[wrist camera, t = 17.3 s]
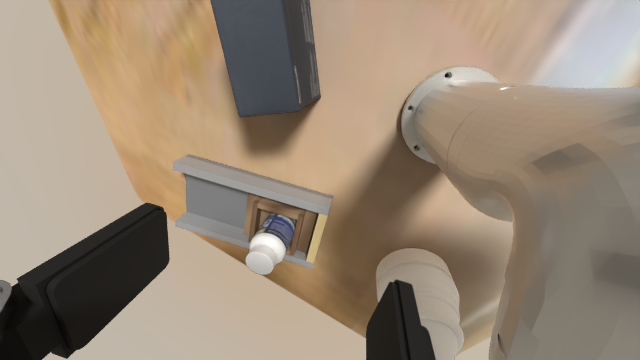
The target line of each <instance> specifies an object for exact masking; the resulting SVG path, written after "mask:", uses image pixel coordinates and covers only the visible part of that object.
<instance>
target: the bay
mask: <svg viewBox="0 0 640 360" xmlns="http://www.w3.org/2000/svg"><path fill="white" fill-rule="evenodd" d="M173 170H175V171H178V172H182V173H185V174H186V202H187V212H186V213H184V214H183V215H182V216H180V217H179V218H178V219H177V220H175V221H176V227H179V228H182V229H186V230H189V231H192V232H195V233H198V234H201V235H205V236H208V237H211V238H214V239H218V240H221V241H224V242H227V243H230V244H234V245H237V246H240V247H243V248H246V249H250V242H248V240H249V235H246V234H243V233H244V224H245V215H246V206H247V197H248V192H249V193H252V194H256V195H259V196H262V197H266V198H269V199H273V200H276V201H279V202H283V203H286V204H289V205H293V206H296V207H299V208H303V209H306V210H310V211H313V212H316V213H318V214H317V218H316V222H315V225H314V229H313V233H312V236H311V240H310V244H309V247H308V250H307V253H304V252H301V251H298V250H296V252H295V254H294V256H292V255H289V254H285V256H284V258H283V259H282V260H285V261H288V262H291V263H294V264H298V265H301V266H304V267H307V268H310V269H312V267H313V264H314V261H315V257H316V254H317V250H318V247H319V244H320V240H321V237H322V234H323V230H324V227H325V223H326V220H327V217H328V213H329V210H330V206H331V203H332V199H333V196H330V195H327V194H323V193H320V192H317V191H313V190H310V189H306V188H303V187H299V186H296V185H293V184H289V183H286V182H282V181H279V180H275V179H272V178H269V177H265V176H262V175H258V174H255V173H252V172H248V171H245V170H241V169H238V168H234V167H231V166H228V165H224V164H221V163H217V162H214V161H210V160H207V159H204V158H200V157H197V156H193V155H190V154H189V155H187V156H185V157H183V158H180V159H178V160H176V161H174V162H173Z"/></svg>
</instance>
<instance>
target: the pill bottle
mask: <svg viewBox="0 0 640 360" xmlns="http://www.w3.org/2000/svg"><path fill="white" fill-rule="evenodd" d="M295 227H296V221H295V219H293V218H289V217H286V216H283V215H279V214H276V213H273V212H272V213H270V214H269V215H268V217H267V218H266V220H265V221H264V222H263V224H262V225H261V227H260V228H259V230H258V231H257V233H256V234H255V235H254V237H253V238H252V240H251V242H250V252H249V253H248V255H247V257H246V264H247V266H248V268H249V269H250V270H251V271H253V272H254V273H256V274H260V275H266V274H269V273H270V272H272V270H273V268H274V266H275V264H278V263H279V262H281V261H282V259H283V258H284V256H285V254H286V252H287V249H288V247H289V245H290V243H291V240H292V238H293V236H294V232H295Z"/></svg>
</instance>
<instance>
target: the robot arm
mask: <svg viewBox="0 0 640 360" xmlns="http://www.w3.org/2000/svg"><path fill="white" fill-rule="evenodd" d="M446 73H447V74H448V76H447V77H446V78H445V74H446ZM409 106H411V107H412V108H411V109H410V110H408V107H409ZM401 130H402V135H403V138H404V140H405V142H406V144H407V146H408V147H409V149H410V150H411V151H412V152H413V153H414V154H415V155H416V156H418V157H419V158H421V159H423V160H425V161H427V162H430V163H433V164H437V165H438V166H439V168H440V169H441V170H442V172H443V173H444V174H445V175H446V177H447V178H448V179H449V181H450V182H451V183H452V184H453V186H454V187H455V188H456V189H457V190H458V191H459V193H460V194H461V195H462V196H463V198H464V199H465V200H466V201H467V202H468V203H469V204H470V205H471V206H473V207H474V208H475V209H477V210H478V211H480V212H482V213H483V214H485V215H487V216H490V217H492V218H495V219H498V220H503V221H508V222H513V241H512V247H511V252H510V256H509V260H508V264H507V268H506V273H505V283H504V287H503V291H502V295H501V299H500V303H499V307H498V311H497V315H496V319H495V323H494V327H493V332H492V336H491V342H490V349H489V360H640V87H629V88H587V89H586V88H565V87H550V86H533V85H520V84H506V83H500V82H499V81H498V80H497V79H496V78H495V77H494V76H493V75H491V74H490V73H488V72H487V71H485V70H482V69H479V68H476V67H469V66H458V67H451V68H447V69H444V70H441V71H438V72H436V73H434V74H432V75H430V76H429V77H427V78H426V79H425V80H423V81H422V82H421V83H419V85H418V86H417V87H416V88H415V89H414V90H413V91H412V93H411V94H410V96H409V97H408V99H407V101H406V103H405V105H404V108H403V111H402V116H401ZM415 145H417V148H414V146H415ZM168 263H169V245H168V230H167V215H166V212H164V209H163V207H160V206H157V205H154V204H151V203H145V204H143V205H141V206H139V207H138V208H136V209H134V210H133V211H131V212H129V213H127V214H126V215H124V216H122V217H121V218H119V219H117V220H115V221H114V222H112V223H110V224H109V225H107V226H105V227H104V228H103V229H100V230H99V231H97V232H95V233H93V234H92V235H90V236H88V237H87V238H85V239H84V240H82V241H80V242H78V243H77V244H75V245H73V246H71V247H70V248H68V249H66V250H65V251H63V252H61V253H60V254H58V255H56V256H55V257H53V258H51V259H49V260H48V261H46V262H45V263H43V264H41V265H39V266H38V267H36V268H34V269H32V270H31V271H29V272H27V273H26V274H24V275H22V276H21V277H19V278H17V280H18V282H19V283H17V284H15V285H14V286H12V287H11V285H10V283H8V282H6V281H4V280H0V360H42V359H43V358H44V357H45V356H46V355H47V354H49V353H50V352H52V353H53V354H55V355H58V356H61V357H64V358H68V357H69V356H70V355H71V354H73V352H75V351H76V350H79V349H81V348H83V347H84V346H85V345H87V344H88V343H89V342H90V341H91V340H92V339H93V338H94V337H95V336H96V335H97V334H98V333H99V332H100V331H101V330H102V329H103V328H104V327H105V326H106V325H107V324H108V323H109V322H110V321H111V320H112V319H113V318H114V317H115V316H116V315H117V314H118V313H119V312H120V311H122V309H124V308H125V307H126V306H127V305H128V304H129V302H131V301H132V300H133V299H134V298H135V297H136V296H137V295H138V294H139V293H140V292H141V291H142V290H143V289H144V288H145V287H146V286H147V285H148V284H149V283H150V282H151V281H152V280H153V279H154V278H155V277H157V275H159V274H160V272H162V271H163V270H164V269H165V268H166V266H167V265H168ZM366 360H436V358H435V354H434V350H433V346H432V342H431V338H430V334H429V331H428V330H427V328H426V327H424V326H422V325H421V321H420V317H419V312H418V308H417V303H416V299H415V294H414V290H413V286H412V284H410V283H407V282H404V281H400V280H397V279H396V280H395V281H394V282H389V284H388V286H387V288H386V289H385V291H384V293H383V295H382V297H381V299H380V301H379V303H378V305H377V307H376V309H375V311H374V313H373V315H372V317H371V319H370V321H369V323H368V326H367V331H366Z"/></svg>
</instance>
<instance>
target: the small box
mask: <svg viewBox="0 0 640 360" xmlns="http://www.w3.org/2000/svg"><path fill="white" fill-rule="evenodd" d="M210 1H211V5H212V9H213V13H214V17H215V21H216V25H217V29H218V33H219V37H220V41H221V45H222V49H223V53H224V57H225V61H226V65H227V70H228V73H229V78H230V81H231V86H232V90H233V94H234V98H235V102H236V106H237V110H238V114H239V116H240V117H250V116H260V115H269V114H279V113H289V112H297V111H299V110H300V109H301V108H303V107H305V106H306V105H308V104H310V103H311V102H313V101H315V100H316V99H320V98H321V95H320V87H319V78H318V69H317V61H316V52H315V44H314V35H313V27H312V18H311V9H310V1H309V0H210Z"/></svg>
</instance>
